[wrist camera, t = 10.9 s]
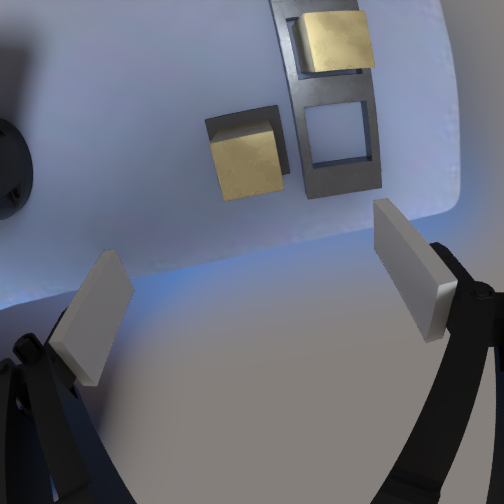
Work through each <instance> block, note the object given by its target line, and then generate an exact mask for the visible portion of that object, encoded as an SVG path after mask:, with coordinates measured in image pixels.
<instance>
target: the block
mask: <svg viewBox="0 0 504 504" xmlns="http://www.w3.org/2000/svg"><path fill="white" fill-rule="evenodd" d="M291 27H292V31H293V36H294V40H295V45H296V49H297V54H298V59H299V64H300V69H301V73H303V72H321V71H331V70H342V69H356V68H375V63H374V57H373V51H372V45H371V40H370V35H369V30H368V25H367V20H366V15H365V11H328V12H313V13H303V14H302V15H301V16H300V17H299V18H298V20H297V21H296V22H295V23H294V24H293V25H292V26H291Z"/></svg>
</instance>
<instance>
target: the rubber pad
mask: <svg viewBox="0 0 504 504" xmlns="http://www.w3.org/2000/svg"><path fill="white" fill-rule="evenodd" d="M267 118H268V119H269V122H270V124H271V127H272V129H273V133H274V138H275V143H276V148H277V154H278V159H279V164H280V169H281V174H282V175H284V174H289V173H290V169H289V164H288V158H287V152H286V147H285V141H284V136H283V130H282V125H281V120H280V115H279V109H278V105H274V106H268V107H262V108H257V109H252V110H247V111H242V112H237V113H232V114H227V115H223V116H219V117H214V118H210V119H206V120H205V123H206V127H207V131H208V135H209V139H210V142H211V140H212V139H213V137H214V135H215V133H216V132H217V130H218V129H219V128H223V127H228V126H232V125H237V124H242V123H246V122H251V121H256V120H262V119H267Z"/></svg>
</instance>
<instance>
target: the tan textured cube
mask: <svg viewBox="0 0 504 504" xmlns="http://www.w3.org/2000/svg"><path fill="white" fill-rule="evenodd" d="M209 145H210V148H211V152H212V156H213V160H214V164H215V167H216V171H217V175H218V179H219V182H220V186H221V190H222V194H223V197H224V201H228V200H233V199H238V198H243V197H248V196H253V195H259V194H264V193H269V192H274V191H280V190H284V185H283V180H282V174H281V169H280V164H279V159H278V154H277V148H276V143H275V138H274V133H273V129H272V127H271V124H270V122H269V119H268V118H267V119H262V120H256V121H251V122H246V123H242V124H237V125H232V126H228V127H223V128H219V129H218V130H217V132H216V133H215V135H214V137H213V139H212V140H211V142H210V144H209Z"/></svg>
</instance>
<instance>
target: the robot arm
mask: <svg viewBox="0 0 504 504" xmlns="http://www.w3.org/2000/svg"><path fill="white" fill-rule="evenodd" d="M31 186H32V163H31V158H30V154H29V151H28V148H27V145H26V143H25V141H24V139H23V137H22V136H21V134H20V133H19V132H18V130H17V129H16V128H15V127H14V126H13V125H12V124H10V123H9V122H7V121H5V120H2V119H0V220H4V219H6V218H9V217H10V216H12V215H13V214H14V213H16V212H17V211H18V210H19V209H21V208H22V207H23V205H24V204H25V203H26V201H27V199H28V197H29V194H30V191H31ZM373 206H374V249H375V251H376V253H377V255H378V256H379V258H380V260H381V261H382V263H383V265H384V267H385V268H386V270H387V272H388V273H389V275H390V277H391V279H392V280H393V282H394V284H395V286H396V287H397V289H398V291H399V293H400V295H401V297H402V298H403V300H404V302H405V304H406V306H407V308H408V309H409V311H410V313H411V315H412V317H413V319H414V321H415V323H416V324H417V327H418V328H419V330H420V333H421V334H422V336H423V338H424V341H425V343H428V342H431V341H435V340H438V339H441V338H443V336H444V332H445V329H446V327H447V329H448V331H449V332H450V334H451V335H450V338H449V341H448V344H447V348H446V350H445V353H444V356H443V359H442V362H441V364H440V367H439V370H438V372H437V375H436V378H435V380H434V383H433V385H432V388H431V390H430V393H429V395H428V397H427V400H426V402H425V404H424V407H423V409H422V411H421V413H420V415H419V417H418V420H417V422H416V424H415V426H414V428H413V430H412V432H411V434H410V436H409V438H408V440H407V442H406V444H405V446H404V448H403V450H402V451H401V453H400V455H399V457H398V459H397V461H396V462H395V464H394V466H393V468H392V470H391V471H390V473H389V475H388V476H387V478H386V480H385V481H384V483H383V484H382V486H381V488H380V489H379V491H378V493H377V494H376V496H375V497H374V498H373V500H372V502H371V503H370V504H438V502H439V498H440V490H441V487H442V485H443V483H444V481H445V479H446V476H447V474H448V472H449V470H450V468H451V465H452V463H453V461H454V458H455V456H456V453H457V451H458V448H459V446H460V443H461V441H462V438H463V435H464V433H465V430H466V427H467V424H468V421H469V418H470V415H471V412H472V409H473V406H474V402H475V399H476V395H477V392H478V388H479V385H480V381H481V377H482V373H483V369H484V365H485V361H486V356H487V351H488V347H494V355H495V373H496V424H495V440H494V452H493V462H492V470H491V477H490V484H489V490H488V496H487V501H486V504H504V292H502V293H501V292H498V293H497V292H495V291H494V289H493V288H492V287H491V286H490V285H488V284H486V283H483V282H479V281H474V279H473V278H472V277H471V276H470V274H469V273H468V272H467V271H466V269H465V268H464V267H463V266H462V265H461V263H460V262H458V260H457V259H456V258H455V257H454V256H453V254H452V253H451V252H450V251H449V249H448V248H446V247H445V246H443V245H441V244H440V243H438V242H435V243H431V244H428V243H427V241H426V240H425V239H424V238H423V237H422V236H421V234H420V233H419V232H418V231H417V230H416V229H415V227H414V226H413V225H412V224H411V223H410V222H409V221H408V220H407V218H406V217H405V216H404V215H403V214H402V213H401V212H400V211H399V210H398V209H397V208H396V206H395V205H394V204H393V203H392V202H391V201H390V200H389V199H388V198H385V199H379V200H373ZM133 293H134V288H133V286H132V284H131V282H130V280H129V278H128V276H127V273H126V271H125V269H124V267H123V265H122V263H121V261H120V258H119V256H118V254H117V252H116V250H115V249H112V250H108V251H103V253H102V254H101V256H100V257H99V259H98V260H97V262H96V263H95V265H94V266H93V268H92V270H91V271H90V273H89V274H88V276H87V277H86V279H85V280H84V282H83V284H82V285H81V287H80V288H79V290H78V292H77V293H76V295H75V297H74V298H73V300H72V302H71V303H70V305H69V306H68V307H67V308H66V309H65V310H64V311H63V312H62V314H61V316H60V317H59V319H58V322H56V324H55V326H54V328H53V329H52V331H51V333H50V335H49V336H48V338H47V340H46V342H45V344H44V346H43V345H42V344H41V343H40V341H39V340H38V339H37V337H36V336H35V335H34V334H33V333H28V334H25V335H23V336H22V337H21V338H19V339H18V340H17V342H16V343H15V345H14V347H13V352H14V354H15V355H16V356H17V357H18V359H19V360H20V361H21V362H22V364H19V365H16V364H15V363H14V362H13V361H12V360H11V359H10V358H7V359H4V360H3V361H1V362H0V504H137V503H136V502H135V500H134V499H133V497H132V495H131V494H130V492H129V491H128V489H127V487H126V486H125V484H124V482H123V480H122V479H121V477H120V475H119V474H118V472H117V470H116V468H115V466H114V465H113V463H112V461H111V459H110V457H109V455H108V453H107V451H106V449H105V447H104V446H103V444H102V442H101V440H100V437H99V436H98V434H97V431H96V430H95V427H94V425H93V423H92V420H91V419H90V416H89V414H88V412H87V409H86V407H85V405H84V402H83V400H82V397H81V395H80V393H79V390H78V388H77V387H76V385H74V381H75V379H76V378H77V379H78V380H79V381H80V382H81V383H82V385H84V386H97V384H98V381H99V379H100V376H101V373H102V370H103V367H104V365H105V362H106V360H107V357H108V354H109V352H110V349H111V346H112V344H113V341H114V339H115V336H116V334H117V331H118V329H119V326H120V324H121V321H122V319H123V316H124V314H125V311H126V309H127V307H128V304H129V302H130V300H131V297H132V295H133ZM16 401H17V402H18V403H19V404H20V405H21V408H20V409H18V407H17V404H16ZM50 475H51V478H52V480H53V483H54V486H55V489H56V491H57V494H58V497H59V499H58V501H56V502H54V500H53V494H52V487H51V479H50Z"/></svg>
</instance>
